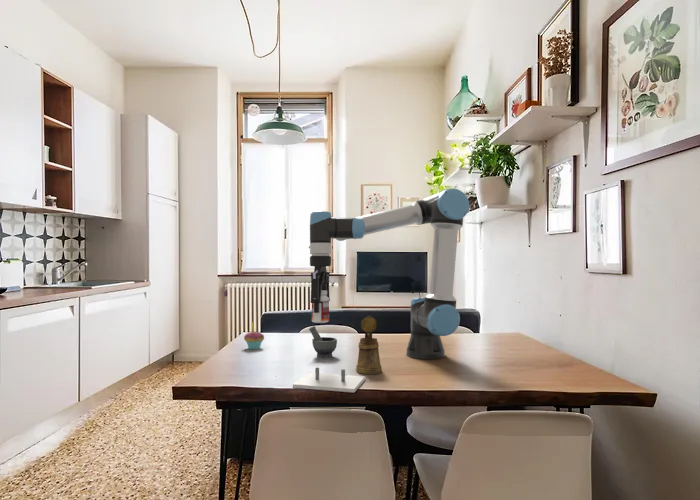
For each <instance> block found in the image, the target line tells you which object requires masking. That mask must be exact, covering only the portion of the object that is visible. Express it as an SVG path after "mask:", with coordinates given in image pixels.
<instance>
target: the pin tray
mask: <svg viewBox="0 0 700 500" xmlns="http://www.w3.org/2000/svg"><path fill="white" fill-rule="evenodd" d="M340 371H341V372H340V374H336V373H335V374H334V373H320V367H315V371H314V372H308V373H306V374H305V375H303V376H302V377H301V378H299V379H298V380H297V381H295V382H294V383H293V384H292V388H295V389H305V390H316V391H317V390H318V391H327V392H328V391H330V392H331V391H332V392H343V393H352V394H353V393H355V392H356V391H357V390H358V389H359V388H360V386H362V384H363V383H364V382H365V381H366V376H364V375H360V376H359V375H348V374H346V369H344V368H343V369H341V370H340ZM358 387H359V388H358Z"/></svg>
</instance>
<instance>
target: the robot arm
mask: <svg viewBox="0 0 700 500" xmlns="http://www.w3.org/2000/svg"><path fill="white" fill-rule="evenodd" d="M469 210H470V201H469V198H468V196H467V195H466V194H465V193H464V192H463V191H462V190H460V189H457V188H446V189H443V190H441V191H440V192H439V191H438V192H437V193H434V194H432V195H430V196H427V197H425V198H423V199H420V200H416V201H413V202H412V203H411V204H409V205H404V206H400V207H396V208H392V209H391V208H390V209H387V210H384V211H383V210H382V211H379V212H374V213H369V214H365V215H361V216H356V217H334V216H332V213H331V212H330V211H327V210H326V211H325V210H318V211H317V210H315V211H312V212H311V213H310V214H309V215H310V216H309V217H310V219H309V246H308V249H309V254H310V256H309V265H310V267H314V269H313V272H311V273H310V303H311V304H312V303H313V322H312V323H314V322H321V303H320V300H321V290H327V295H326V296H327V297H328V298H329V302H331V298H330V275H331V274H330V271H328V269H327V267H331V266H332V257H331V254H332V239H335V240H337V241H340V242H343V241H346V240H356V239H357V240H358V239H360V240H361V239H363V238H364V236H367V235H371V234H375V233H380V232H383V231H388V230H393V229H397V228H401V227H405V226H410V225H414V224H416V225H418V226H421V225H426V224H430V225H431V227H433V229H434V234H433V244H432V246H433V247H432V257H431V268H430V269H431V270H430V281H429V292H428V293H427V294H426V295H425V296H424V297H414V298H411V301H410V307H409V308H410V337H409V340H408V342H407V343H408V344H407V346H406V356H407V357H410V358H412V359H420V360H436V359H437V360H439V359H441V358H445V356H446V355H445V353H446V351H445V347H444V344H443V341H442V337H447V336H449V335H452V334H453V333H455V332H456V331H457V329H458V327H459V326H460V323H461V316H460V313H459V311H458V310H457V298H455V296H454V284H455V283H454V282H455V272H456V270H455V269H456V260H457V247H458V234H459V231H460V230H461V229H462V228H464V227H463V225H464V217H466V216H467V214H468V212H469Z"/></svg>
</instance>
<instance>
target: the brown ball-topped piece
mask: <svg viewBox="0 0 700 500" xmlns="http://www.w3.org/2000/svg"><path fill="white" fill-rule="evenodd" d="M360 329H361V331H362V332H363V333H364V337H360V339H359V342H358V349H359V350H358V354H357V355H358V356H357V364H356V366H355V367H356V368H355V369H356V371H355V372H356V373H359V374H362V375H377V374H381V373H382V372H383V369H382V365H381V359H380V352H379V351H380V350H379V342H378V338H376V337H375V338H373V333H375V332H376V331H377V330H378V321H377V320H376V318H374V317H373V316H372V315H368V316H366V317H364V318H363V319H362V320H361V321H360Z"/></svg>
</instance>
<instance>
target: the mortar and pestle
mask: <svg viewBox="0 0 700 500" xmlns="http://www.w3.org/2000/svg"><path fill="white" fill-rule="evenodd" d="M308 331H309V332H310V333H311V335H312V337H313V338H312V339H311V340H312V341H311V342H312V348H313V349H314V351H315V352H316V358H317V357H318V359H324V358H326V359H331V358H333V353H334V351H336V348H337V344H338V339H337V338H336V337H331V336H329V337H327V336H326V337H325V336H322V337H321V335H320V333H319V332H318V330H317V329H316V325H313V326H311V327H309V329H308Z"/></svg>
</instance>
